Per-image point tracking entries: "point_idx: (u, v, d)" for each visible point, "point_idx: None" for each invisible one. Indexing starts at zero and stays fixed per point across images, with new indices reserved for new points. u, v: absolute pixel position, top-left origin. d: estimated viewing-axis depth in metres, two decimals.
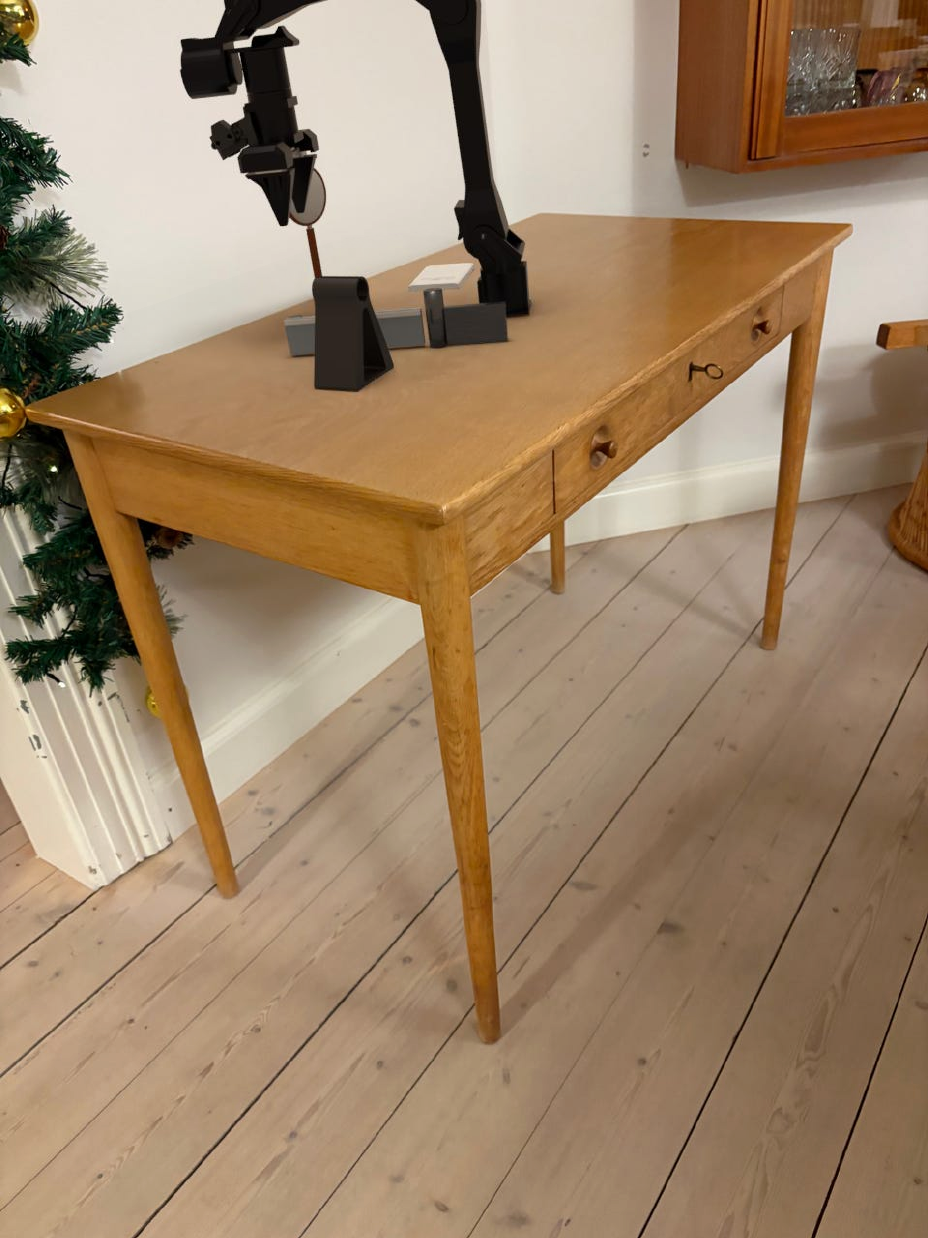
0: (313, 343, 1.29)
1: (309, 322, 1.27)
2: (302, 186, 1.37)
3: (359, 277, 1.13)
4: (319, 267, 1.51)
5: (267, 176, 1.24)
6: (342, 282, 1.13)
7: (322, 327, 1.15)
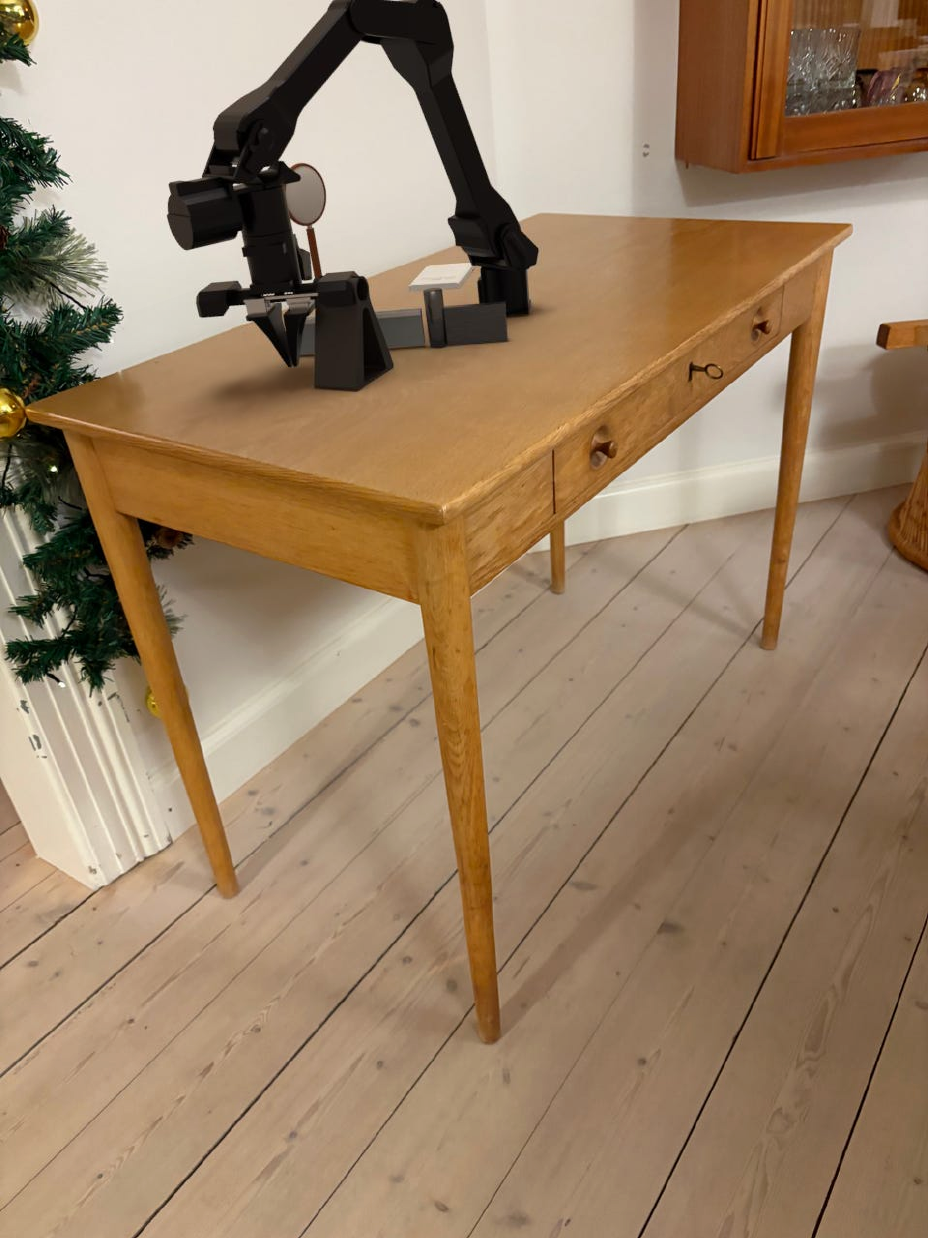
0: (313, 343, 1.29)
1: (309, 322, 1.27)
2: None
3: (359, 277, 1.13)
4: (319, 267, 1.51)
5: None
6: None
7: (322, 327, 1.15)
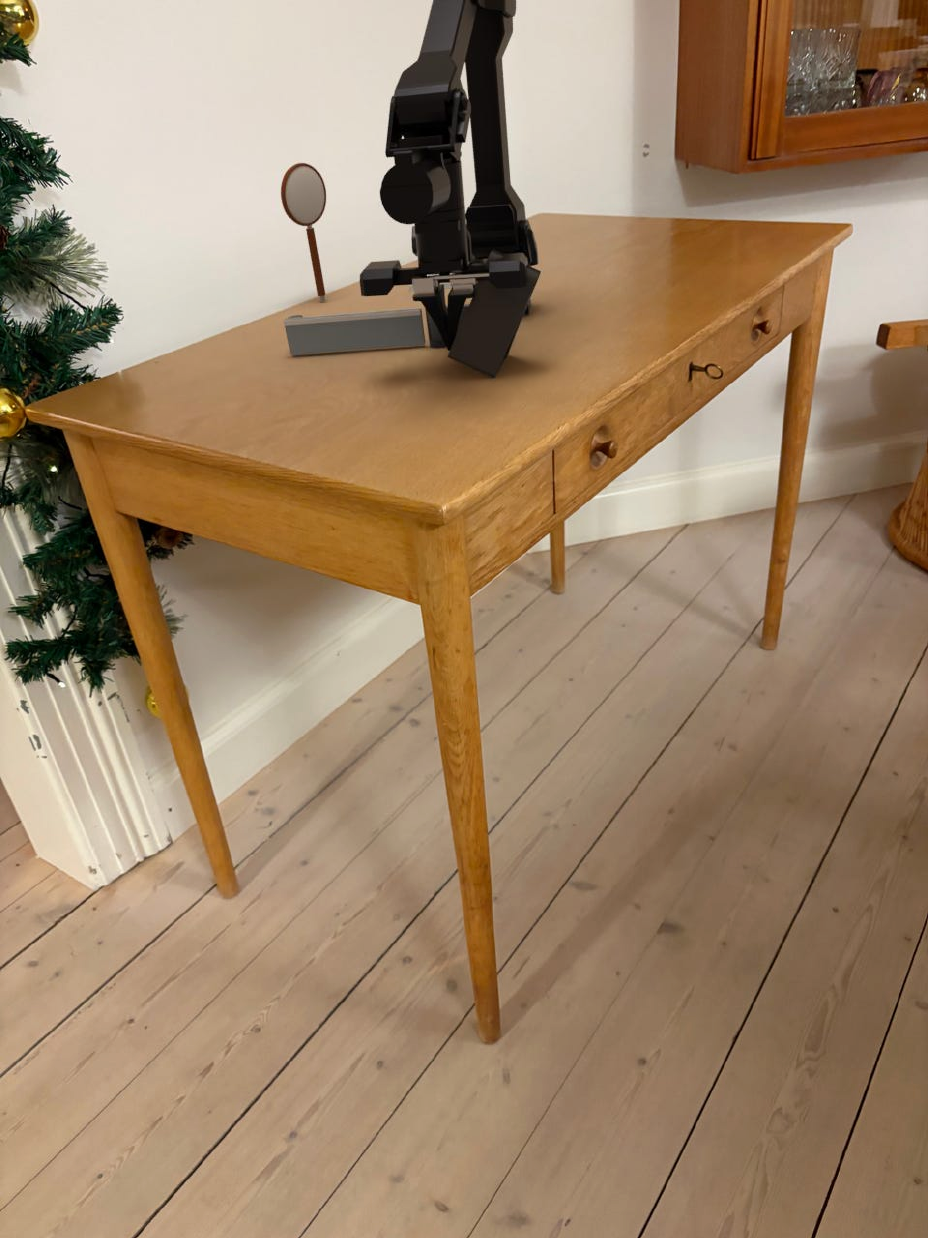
0: (313, 343, 1.29)
1: (309, 322, 1.27)
2: None
3: (537, 270, 1.11)
4: (319, 267, 1.51)
5: None
6: None
7: (480, 302, 1.12)
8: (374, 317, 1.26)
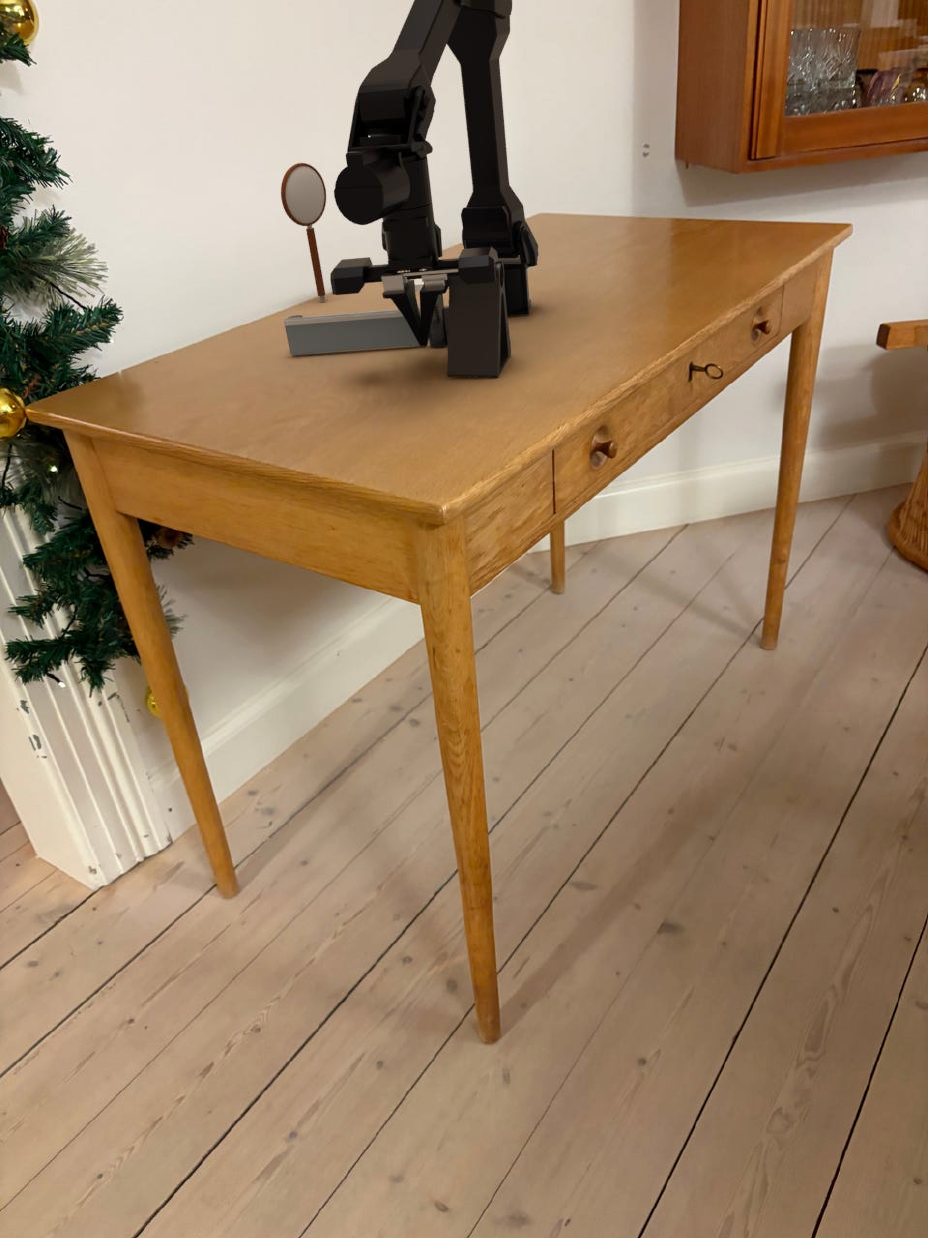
0: (313, 343, 1.29)
1: (309, 322, 1.27)
2: None
3: (498, 262, 1.12)
4: (319, 267, 1.51)
5: None
6: None
7: (457, 313, 1.13)
8: (374, 317, 1.26)
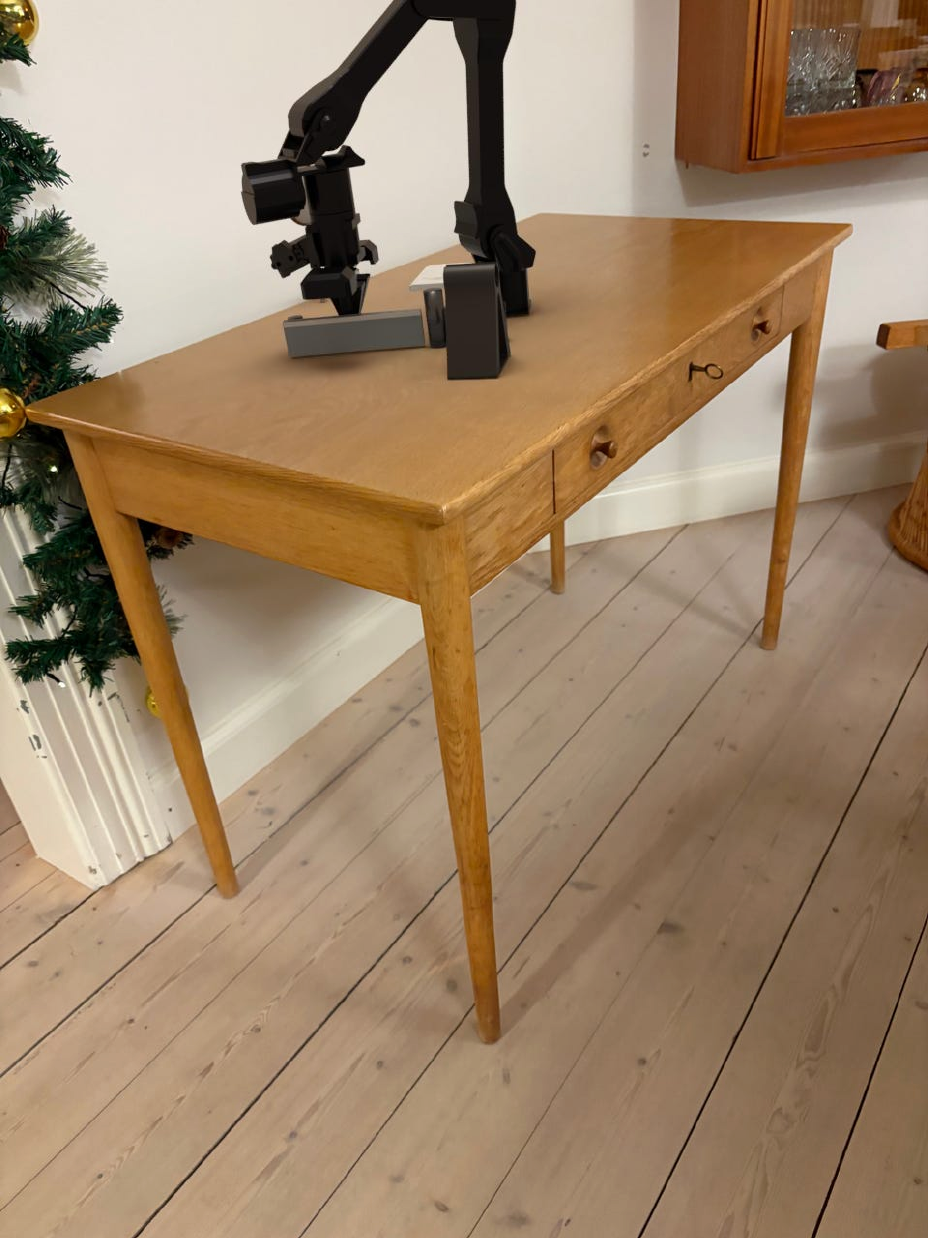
0: (312, 345, 1.28)
1: (308, 324, 1.27)
2: None
3: (492, 263, 1.12)
4: None
5: None
6: (478, 268, 1.11)
7: (454, 316, 1.14)
8: (374, 318, 1.26)
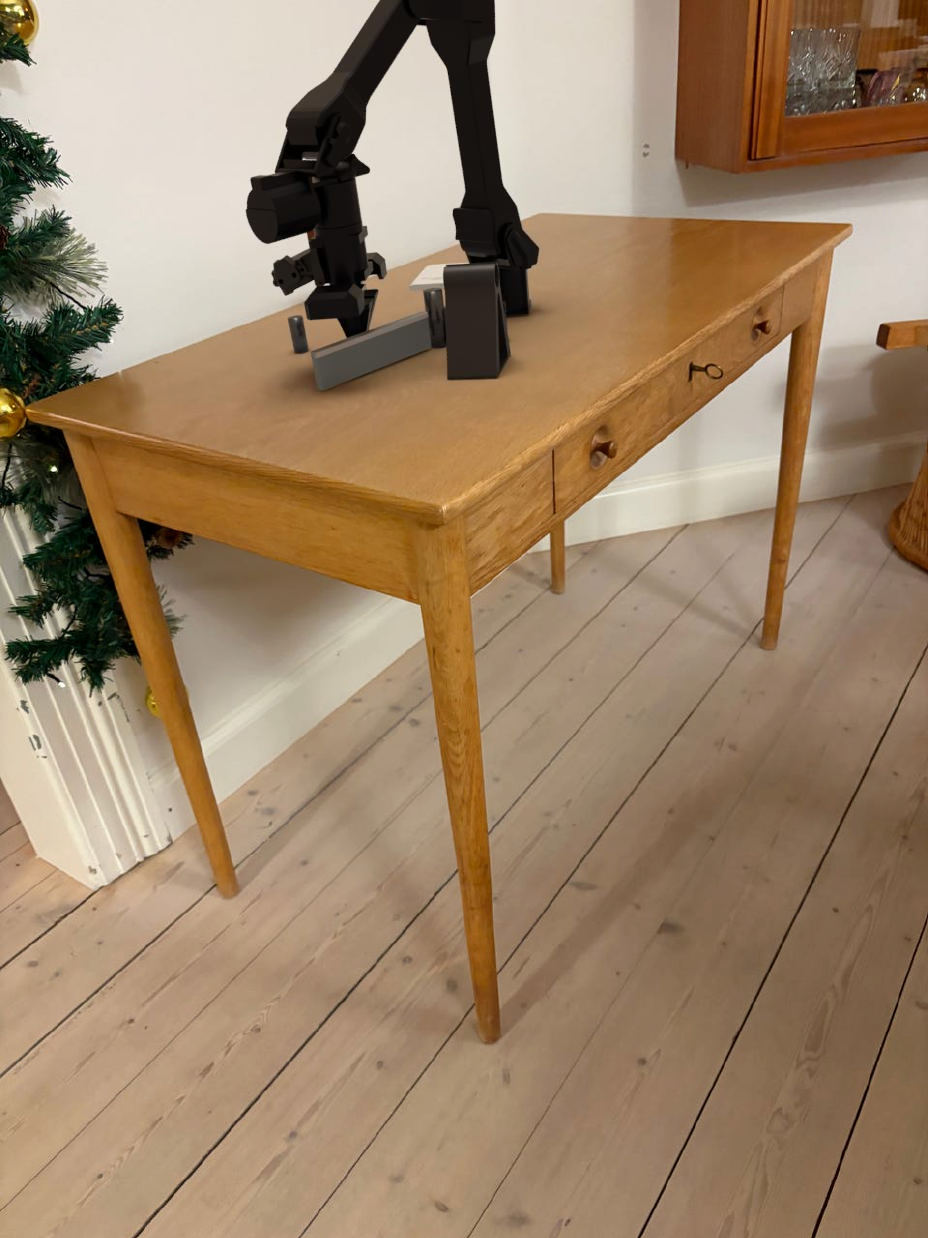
0: (342, 371, 1.17)
1: (339, 348, 1.16)
2: None
3: (493, 263, 1.12)
4: None
5: None
6: (478, 268, 1.11)
7: (454, 316, 1.14)
8: (392, 329, 1.21)
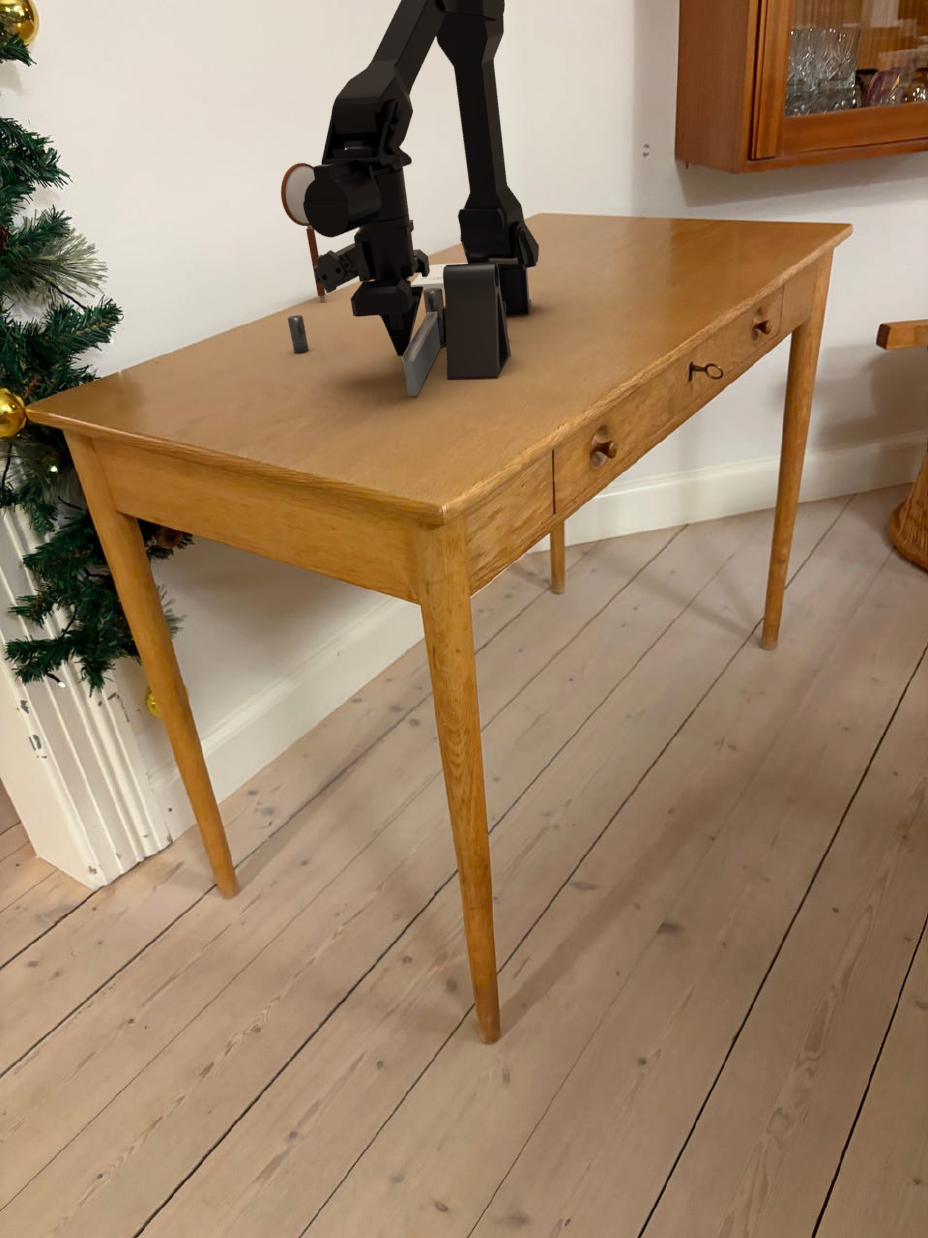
0: (420, 374, 1.13)
1: (418, 350, 1.12)
2: None
3: (492, 263, 1.12)
4: None
5: None
6: (478, 268, 1.11)
7: (454, 316, 1.14)
8: (429, 329, 1.19)
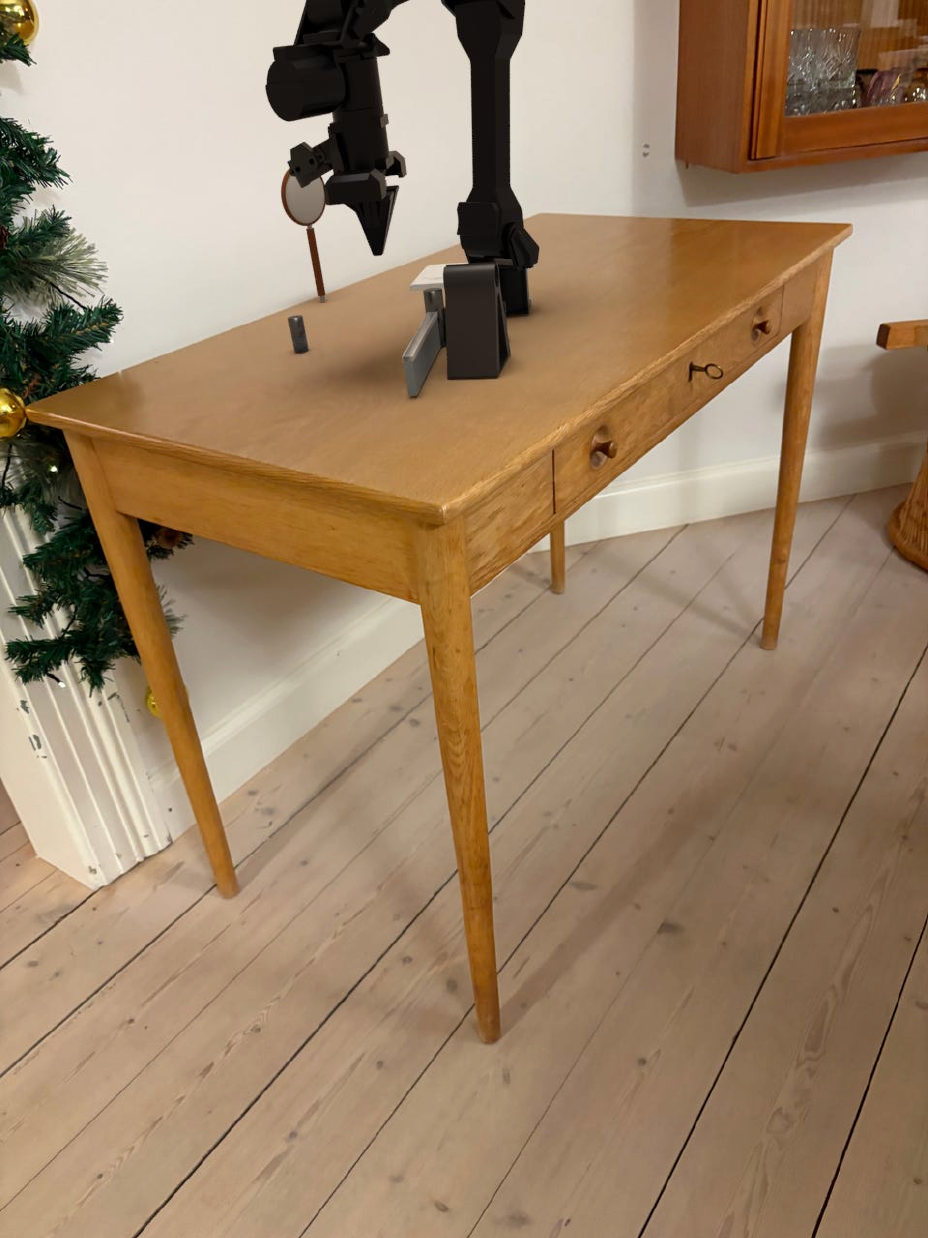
0: (420, 374, 1.13)
1: (418, 350, 1.12)
2: None
3: (492, 263, 1.12)
4: (319, 267, 1.51)
5: None
6: (478, 268, 1.11)
7: (454, 316, 1.14)
8: (429, 329, 1.19)
